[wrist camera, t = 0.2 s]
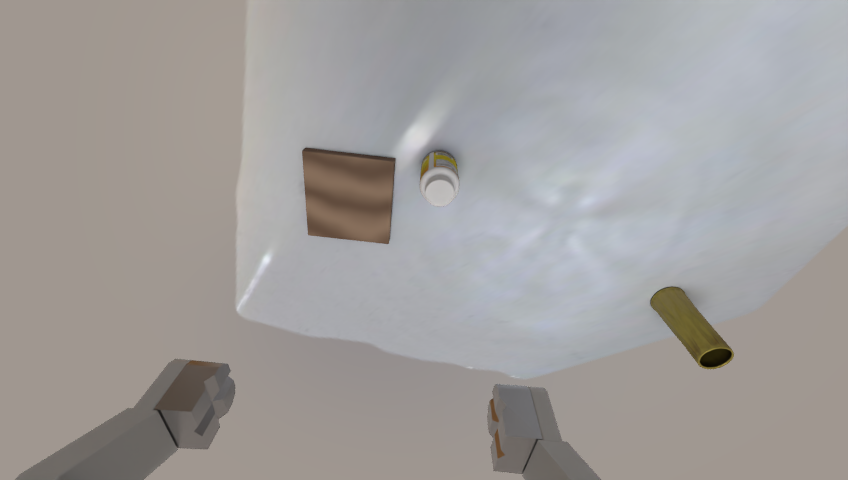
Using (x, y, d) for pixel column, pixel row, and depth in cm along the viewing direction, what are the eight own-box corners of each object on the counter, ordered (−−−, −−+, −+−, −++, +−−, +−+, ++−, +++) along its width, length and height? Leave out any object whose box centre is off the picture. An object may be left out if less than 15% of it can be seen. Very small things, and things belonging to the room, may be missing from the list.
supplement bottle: (428, 187, 59) (427, 217, 50) (416, 156, 56) (412, 182, 47) (461, 176, 57) (465, 205, 49) (450, 144, 55) (453, 168, 46)
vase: (652, 288, 68) (699, 347, 56) (687, 284, 67) (742, 343, 55) (648, 312, 71) (691, 372, 59) (681, 308, 70) (732, 369, 58)
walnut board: (305, 147, 56) (302, 150, 54) (395, 158, 56) (394, 161, 55) (310, 230, 64) (308, 235, 62) (389, 239, 64) (388, 243, 63)
